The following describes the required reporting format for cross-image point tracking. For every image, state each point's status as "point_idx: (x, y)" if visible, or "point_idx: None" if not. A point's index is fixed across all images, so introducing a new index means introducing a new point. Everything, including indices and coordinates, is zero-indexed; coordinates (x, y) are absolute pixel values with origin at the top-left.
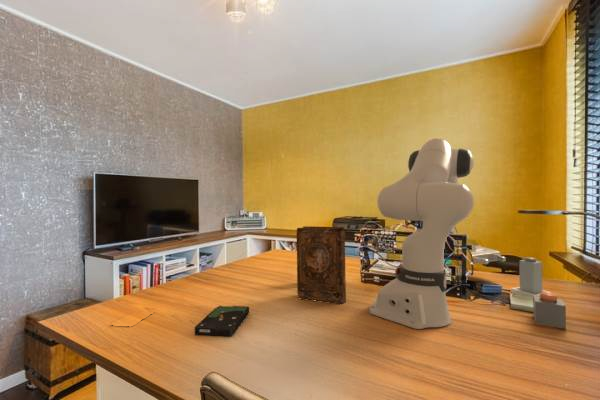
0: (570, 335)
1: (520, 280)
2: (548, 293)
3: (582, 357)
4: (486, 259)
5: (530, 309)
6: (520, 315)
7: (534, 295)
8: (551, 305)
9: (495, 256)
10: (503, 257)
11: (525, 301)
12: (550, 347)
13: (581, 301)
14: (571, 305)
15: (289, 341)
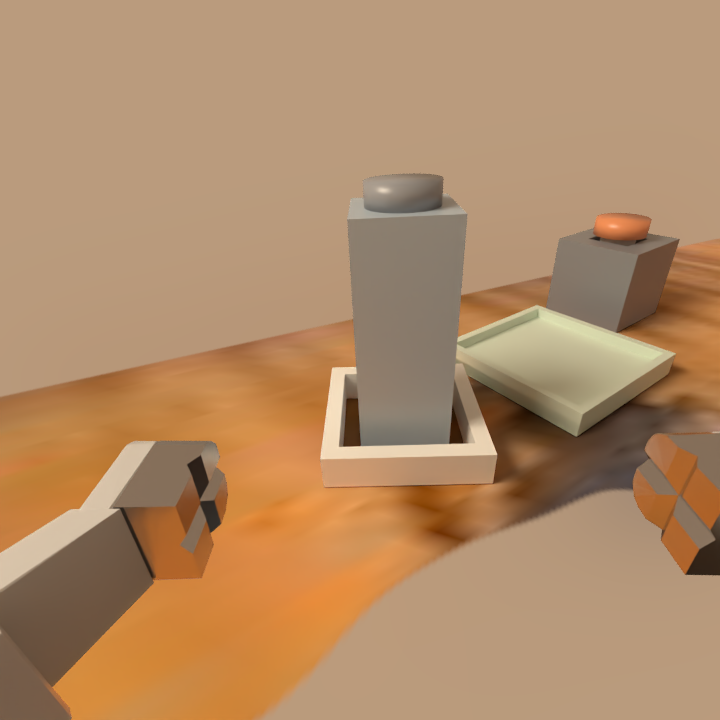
0: None
1: (454, 371)
2: (614, 219)
3: None
4: (699, 439)
5: (600, 339)
6: (670, 340)
7: (638, 252)
8: None
9: (20, 679)
10: (183, 441)
11: (553, 372)
12: (707, 272)
13: (275, 353)
14: None
15: None
